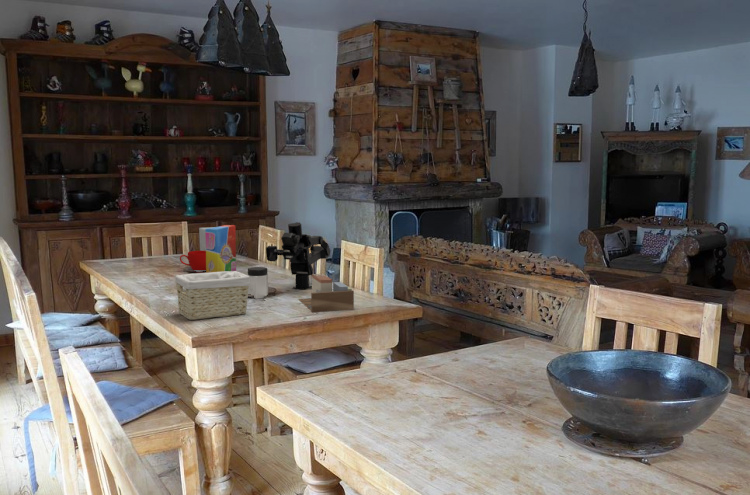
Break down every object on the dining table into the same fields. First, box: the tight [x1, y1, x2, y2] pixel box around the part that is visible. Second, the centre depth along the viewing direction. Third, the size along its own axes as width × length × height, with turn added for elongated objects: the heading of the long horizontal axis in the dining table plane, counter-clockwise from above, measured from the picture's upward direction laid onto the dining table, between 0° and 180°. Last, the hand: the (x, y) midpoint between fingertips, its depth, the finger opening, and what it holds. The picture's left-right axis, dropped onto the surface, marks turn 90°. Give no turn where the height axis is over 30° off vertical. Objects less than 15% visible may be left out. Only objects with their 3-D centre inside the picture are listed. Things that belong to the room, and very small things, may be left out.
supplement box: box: [198, 226, 215, 251], centre depth 390 cm, size 13×13×18 cm
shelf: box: [297, 289, 355, 313], centre depth 259 cm, size 25×16×8 cm, turn 19°
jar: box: [247, 266, 269, 300], centre depth 277 cm, size 9×8×12 cm
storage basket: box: [174, 270, 250, 321], centre depth 245 cm, size 24×16×15 cm
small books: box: [332, 281, 353, 292], centre depth 256 cm, size 10×5×8 cm, turn 19°
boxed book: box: [311, 273, 333, 293], centre depth 263 cm, size 14×4×10 cm, turn 19°
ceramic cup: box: [179, 250, 206, 271], centre depth 340 cm, size 13×17×10 cm
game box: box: [205, 224, 237, 273], centre depth 299 cm, size 21×6×27 cm, turn 168°
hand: (279, 260), depth 272 cm, fingers open, 9 cm apart
